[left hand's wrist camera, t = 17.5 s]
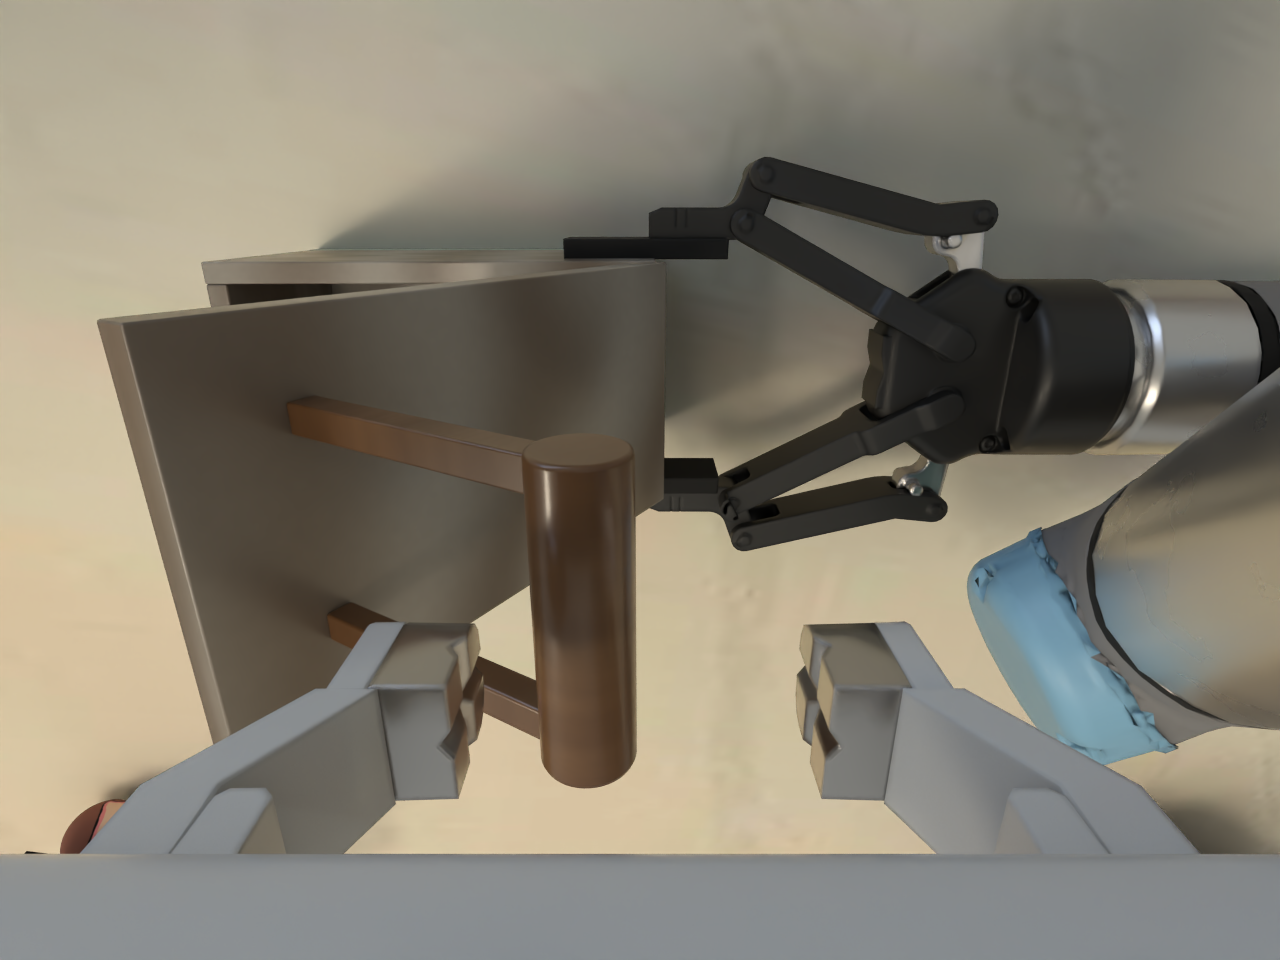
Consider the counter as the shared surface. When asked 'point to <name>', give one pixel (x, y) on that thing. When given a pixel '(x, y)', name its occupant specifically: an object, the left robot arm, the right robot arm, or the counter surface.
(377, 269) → the chest
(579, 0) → the counter surface
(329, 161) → the counter surface
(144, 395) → the lid
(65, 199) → the counter surface
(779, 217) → the counter surface
